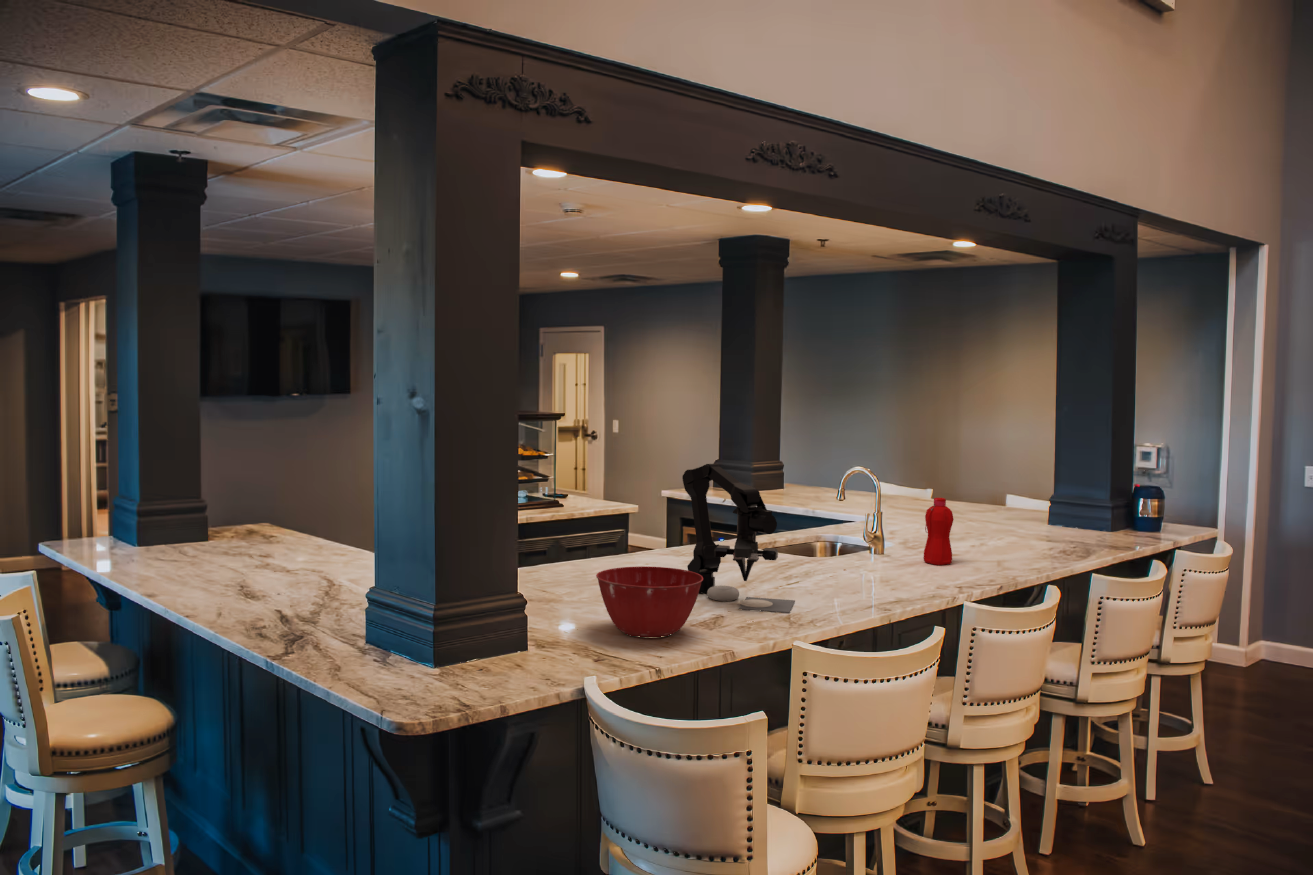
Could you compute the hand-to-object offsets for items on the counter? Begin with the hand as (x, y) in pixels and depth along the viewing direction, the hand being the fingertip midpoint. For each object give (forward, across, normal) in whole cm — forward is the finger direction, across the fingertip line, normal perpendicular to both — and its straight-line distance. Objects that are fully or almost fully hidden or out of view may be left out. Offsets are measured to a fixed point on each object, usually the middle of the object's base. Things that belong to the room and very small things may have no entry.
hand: (745, 580), depth 293 cm
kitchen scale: (+7, +7, 0) cm, 10 cm away
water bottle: (+7, +59, +90) cm, 108 cm away
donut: (+6, -4, +1) cm, 7 cm away
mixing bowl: (+7, -20, -41) cm, 46 cm away
